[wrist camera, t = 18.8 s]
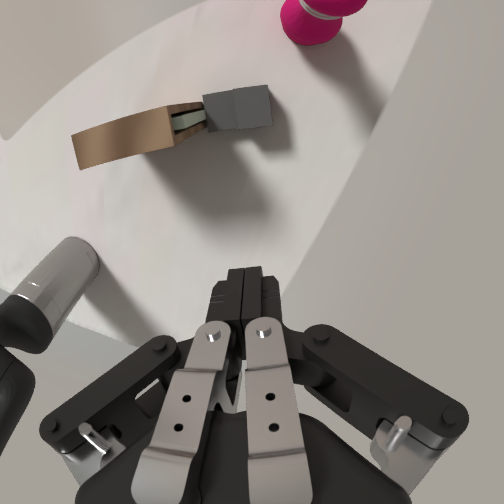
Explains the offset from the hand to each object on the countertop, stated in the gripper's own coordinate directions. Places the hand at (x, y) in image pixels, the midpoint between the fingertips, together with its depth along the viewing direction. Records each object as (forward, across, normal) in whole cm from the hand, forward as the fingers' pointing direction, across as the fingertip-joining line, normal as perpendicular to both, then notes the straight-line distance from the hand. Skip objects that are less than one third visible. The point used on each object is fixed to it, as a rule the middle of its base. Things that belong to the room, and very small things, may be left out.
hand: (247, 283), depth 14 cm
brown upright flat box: (+29, +11, -7) cm, 32 cm away
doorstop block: (+29, +1, -7) cm, 30 cm away
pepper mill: (+29, -9, -18) cm, 35 cm away
